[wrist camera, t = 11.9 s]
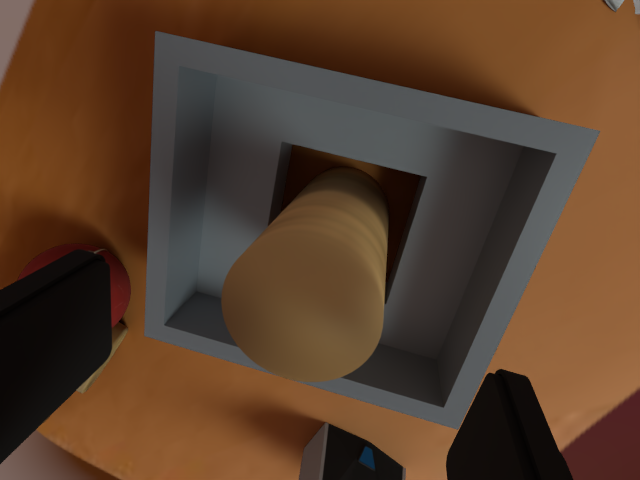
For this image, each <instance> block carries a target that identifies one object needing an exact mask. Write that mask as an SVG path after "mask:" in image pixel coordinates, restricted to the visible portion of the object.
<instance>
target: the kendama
mask: <svg viewBox="0 0 640 480" xmlns="http://www.w3.org/2000/svg"><path fill="white" fill-rule="evenodd" d="M77 249H82V250H85V251H89V252H93V253H96V254H100V255H102V256H103V257H104V258H105V260H106V263H108V264H109V266H110V279H111V318H112V351H111V354H110V356H109V358H108V359H107V360H106V362H105V363H104V364H103V365H102V366H101V367H100V368H99V369H98V370H97V371H96V372H94V373H93V374H92V375H91V376H90V377H89V378H88V379H87V380H86V381H85V382H84V383H83V384H82V385H81V386H80V387H79V388H78V389H77V390H76V391H78V392H80V393H84V392H86V391H87V390H88V389H89V388H90V386H91V385H92V384H93V383H94V381H95V380H96V379H97V377H98V376H99V375H100V373H101V372H102V370H103V369H104V368H105V366H106V365H107V363H108V362H109V360H110V359H111V357H112V356H113V354H114V353H115V351H116V349H117V348H118V346H119V345H120V343H121V342H122V340H123V339H124V337H125V335H126V334H127V332H128V327H126V326H125V325H123V324H121V323H119V320H120V319H121V318H122V316H123V315H124V313H125V311H126V309H127V306H128V303H129V300H130V294H131V286H130V280H129V276H128V274H127V271H126V269H125V268H124V266H123V265H122V264H121V262H120V261H119V260H118V259H117V258H116V257H115V256H113V255H112V254H110V253H109V252H108V250H107V249H101V248H98V247H95V246H92V245H86V244H64V245H60V246H57V247H54V248H51V249H49V250H47V251H45V252H43V253H41V254H40V255H38V256H37V257H35V258H34V259H33V260H32V261H31V262H30V263H29V264H28V265H27V266H26V267H25V268H24V270H23V271H22V272H21V274H20V276H19V278H18V280H20V279H22V278H24V277H26V276H27V275H29V274H31V273H33V272H35V271H37V270H39V269H40V268H42V267H44V266H46V265H48V264H50V263H52V262H53V261H55V260H57V259H59V258H61V257H63V256H65V255H66V254H68V253H70V252H72V251H74V250H77ZM18 280H17V281H18ZM49 417H50V416H49ZM49 417H48V418H49ZM48 418H47V419H48ZM47 419H46V420H47ZM46 420H45V421H46ZM45 421H44V422H45ZM44 422H43V423H44Z"/></svg>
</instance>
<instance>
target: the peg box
mask: <svg viewBox="0 0 640 480" xmlns="http://www.w3.org/2000/svg"><path fill="white" fill-rule="evenodd" d="M599 133H600V131H598V130H593V129H589V128H584V127H580V126H576V125H571V124H567V123H562V122H558V121H554V120H549V119H545V118H540V117H536V116H532V115H527V114H523V113H518V112H514V111H509V110H505V109H500V108H496V107H492V106H487V105H483V104H478V103H474V102H469V101H465V100H461V99H456V98H452V97H447V96H443V95H438V94H434V93H429V92H425V91H421V90H416V89H412V88H407V87H403V86H398V85H394V84H390V83H385V82H381V81H376V80H372V79H367V78H363V77H358V76H354V75H350V74H345V73H341V72H336V71H332V70H327V69H323V68H319V67H314V66H310V65H305V64H301V63H296V62H292V61H287V60H283V59H279V58H274V57H270V56H265V55H261V54H256V53H252V52H247V51H243V50H239V49H234V48H230V47H225V46H221V45H216V44H212V43H207V42H203V41H199V40H194V39H190V38H185V37H181V36H176V35H172V34H167V33H163V32H158V31H155V51H154V79H153V107H152V135H151V164H150V192H149V220H148V248H147V276H146V304H145V332H144V336H146V337H150V338H153V339H156V340H160V341H163V342H166V343H170V344H173V345H176V346H180V347H183V348H186V349H190V350H193V351H196V352H200V353H203V354H207V355H210V356H213V357H217V358H220V359H223V360H227V361H230V362H233V363H237V364H240V365H243V366H247V367H250V368H253V369H257V370H260V371H263V372H267V373H270V374H273V373H271V372H269V371H267V370H265V369H264V368H262V367H260V366H259V365H257V364H256V363H255V362H253V361H252V360H251V359H250V358H249V357H248V356H247V355H245V354H244V353H243V351H242V350H241V349H240V348H239V347H238V346H237V344H236V343H235V341H234V340H233V338H232V337H231V335H230V333H229V331H228V329H227V326H226V324H225V321H224V317H223V313H222V304H221V298H222V289H223V284H224V281H225V278H226V276H227V274H228V272H229V270H230V268H231V267H232V265H233V264H234V263H235V261H236V260H237V259H238V258H239V257H240V256H241V255H242V254H243V253H244V252H245V251H246V249H247V248H248V247H249V246H250V245H251V244H252V243H253V242H254V241H255V240H256V239H257V238H258V237H259V236H260V235H261V234H262V232H263V231H264V230H265V229H266V228H267V227H268V226H269V225H270V224H271V223H272V222H273V221H274V220H275V219H276V218H277V217H278V216H279V214H280V213H281V207H282V201H283V196H284V190H285V184H286V179H287V173H288V167H289V162H290V156H291V150H292V145H293V144H294V145H298V146H302V147H306V148H311V149H315V150H319V151H323V152H327V153H331V154H335V155H339V156H343V157H347V158H351V159H356V160H360V161H364V162H368V163H372V164H376V165H380V166H384V167H388V168H392V169H397V170H401V171H405V172H409V173H413V174H417V175H421V177H420V181H419V184H418V187H417V190H416V193H415V196H414V200H413V203H412V206H411V209H410V212H409V216H408V219H407V222H406V225H405V228H404V231H403V235H402V238H401V241H400V244H399V247H398V251H397V254H396V257H395V260H394V263H393V266H392V270H391V273H390V276H389V279H388V282H385V298H384V317H383V329H382V333H381V337H380V340H379V342H378V345H377V347H376V348H375V350H374V352H373V353H372V355H371V356H370V357H369V358H368V359H367V361H366V362H364V363H363V364H362V365H361V366H360V367H359V368H357V369H356V370H354V371H353V372H351V373H349V374H347V375H345V376H343V377H340V378H337V379H334V380H329V381H323V382H302V381H297V382H300V383H304V384H307V385H310V386H314V387H317V388H320V389H324V390H327V391H330V392H334V393H337V394H340V395H344V396H347V397H350V398H354V399H357V400H360V401H364V402H367V403H371V404H374V405H377V406H381V407H384V408H387V409H391V410H394V411H397V412H401V413H404V414H407V415H411V416H414V417H417V418H421V419H424V420H427V421H431V422H434V423H437V424H441V425H444V426H447V427H451V428H454V429H459V426H460V424H461V422H462V420H463V418H464V416H465V414H466V412H467V410H468V408H469V405H470V403H471V401H472V399H473V397H474V395H475V393H476V391H477V389H478V387H479V385H480V382H481V380H482V378H483V376H484V374H485V372H486V370H487V368H488V366H489V364H490V361H491V359H492V357H493V355H494V353H495V351H496V349H497V347H498V345H499V343H500V340H501V338H502V336H503V334H504V332H505V330H506V328H507V326H508V324H509V322H510V319H511V317H512V315H513V313H514V311H515V309H516V307H517V305H518V303H519V301H520V299H521V296H522V294H523V292H524V290H525V288H526V286H527V284H528V282H529V280H530V278H531V275H532V273H533V271H534V269H535V267H536V265H537V263H538V261H539V259H540V257H541V254H542V252H543V250H544V248H545V246H546V244H547V242H548V240H549V238H550V236H551V234H552V231H553V229H554V227H555V225H556V223H557V221H558V219H559V217H560V215H561V213H562V210H563V208H564V206H565V204H566V202H567V200H568V198H569V196H570V194H571V192H572V189H573V187H574V185H575V183H576V181H577V179H578V177H579V175H580V173H581V171H582V169H583V166H584V164H585V162H586V160H587V158H588V156H589V154H590V152H591V150H592V148H593V145H594V143H595V141H596V139H597V137H598V135H599ZM273 375H275V374H273ZM277 376H278V375H277ZM280 377H281V376H280ZM290 380H291V379H290ZM294 381H295V380H294Z"/></svg>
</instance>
